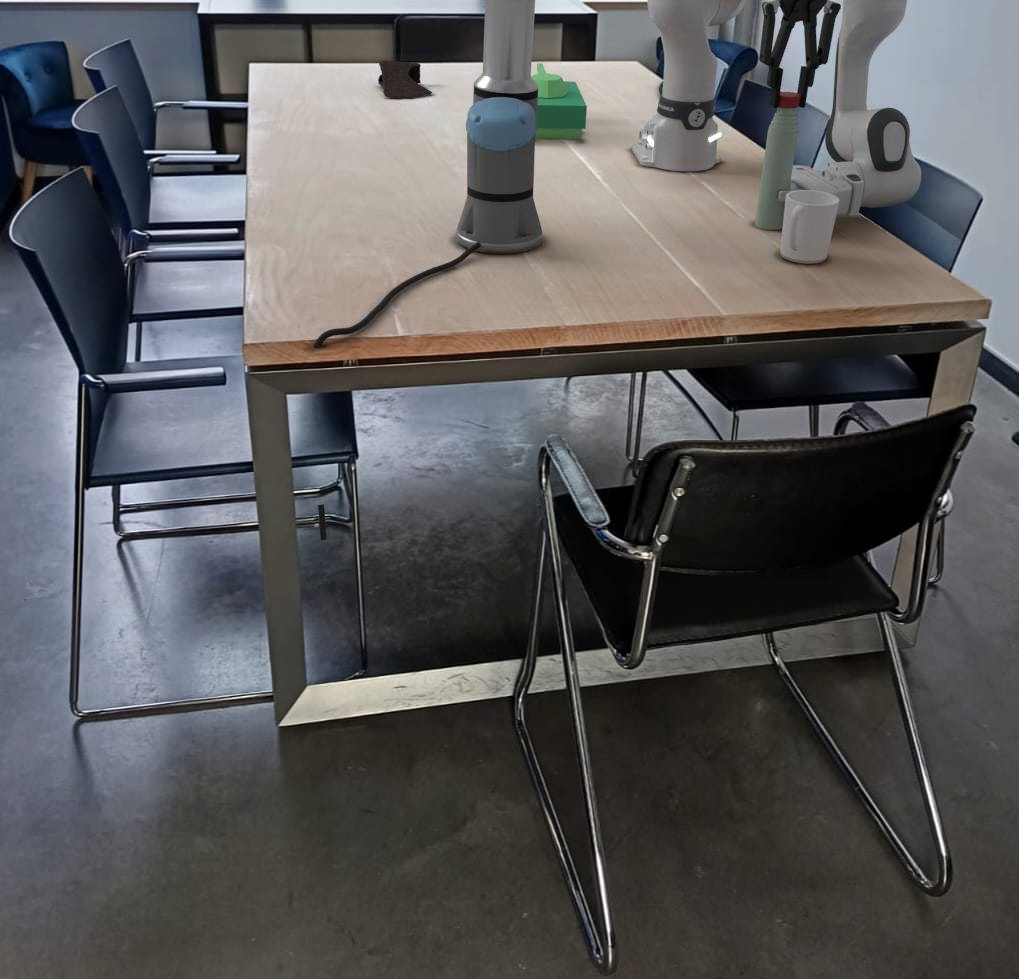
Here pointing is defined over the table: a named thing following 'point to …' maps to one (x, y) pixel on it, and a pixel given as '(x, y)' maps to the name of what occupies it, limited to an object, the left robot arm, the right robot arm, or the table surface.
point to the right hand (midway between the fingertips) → (770, 190)
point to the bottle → (777, 168)
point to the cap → (789, 100)
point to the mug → (808, 225)
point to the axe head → (401, 79)
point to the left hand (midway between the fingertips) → (786, 105)
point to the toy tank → (558, 108)
